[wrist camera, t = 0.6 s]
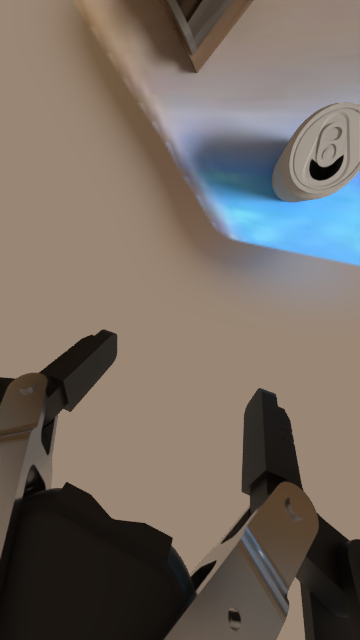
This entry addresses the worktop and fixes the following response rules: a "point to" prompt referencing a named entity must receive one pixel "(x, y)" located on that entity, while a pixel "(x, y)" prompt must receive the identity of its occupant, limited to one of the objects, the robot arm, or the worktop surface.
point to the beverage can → (320, 155)
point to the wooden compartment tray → (203, 24)
